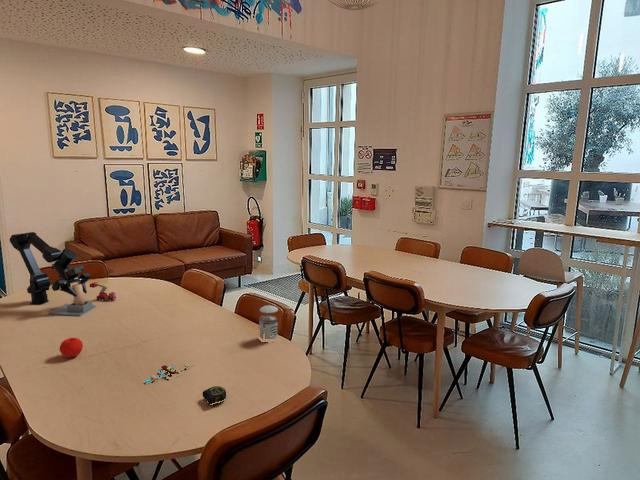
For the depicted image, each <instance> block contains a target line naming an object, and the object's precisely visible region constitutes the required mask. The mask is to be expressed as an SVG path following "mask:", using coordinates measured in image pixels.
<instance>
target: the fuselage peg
mask: <svg viewBox="0 0 640 480" xmlns="http://www.w3.org/2000/svg"><path fill="white" fill-rule="evenodd" d="M71 287H72V289H73V290H74V291H75V293H76V295H77V296H76V297H75V296H73V303H74V304H75V306H83V305H85V304H84V301H85V297H84V292H83V288H82V284H78V283H77V284H73V285H71Z"/></svg>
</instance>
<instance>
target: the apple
mask: <svg viewBox="0 0 640 480" xmlns="http://www.w3.org/2000/svg"><path fill="white" fill-rule="evenodd" d="M83 348H84V345H83V341H82V340H81V339H79V338H78V337H70V338H66V339H64V340H63V341H62V342H61V343H60V345H59V348H58V350H59V352H60V354H61V355H63V356H65V357H66V358H75V357H77V356H79V355H80V354H81V352H82V351H83Z"/></svg>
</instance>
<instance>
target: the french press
mask: <svg viewBox="0 0 640 480" xmlns="http://www.w3.org/2000/svg"><path fill="white" fill-rule="evenodd" d="M266 287H267V289H271V288H272V285H271V284H267V286H266ZM259 311H260V313H263V314H268V315H263V314H261V316H260V317H259V320H258V322H259V323H258V329H259V336H260V337H261V338H262V339H263V334H264V333H265V339H275V338H277V336H278V318H277V317H276V316H274V315H270V314H274V313H277V312H278V311H279V308H278V307H276V306H274V305H270V304H268V305H263V306H262V307H261V308H259ZM271 333H273V334H271ZM270 334H271V335H270ZM272 335H274V336H272ZM270 336H272V337H270Z"/></svg>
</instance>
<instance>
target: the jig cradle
mask: <svg viewBox="0 0 640 480" xmlns="http://www.w3.org/2000/svg"><path fill="white" fill-rule="evenodd" d="M84 304H85V305H83V306H75V304H74V302H72V303H64V304H63V305H60V306H59V307H57V308H55V309H53V310H51V311H50V312H48V313H47V314H48V316H63V317H64V316H65V317H82V316H83V315H85V314H86V313H88V312H90V311H92V310H93V309H95V308H96V304H93V301H90V300H89V301H88V300H84Z"/></svg>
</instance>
